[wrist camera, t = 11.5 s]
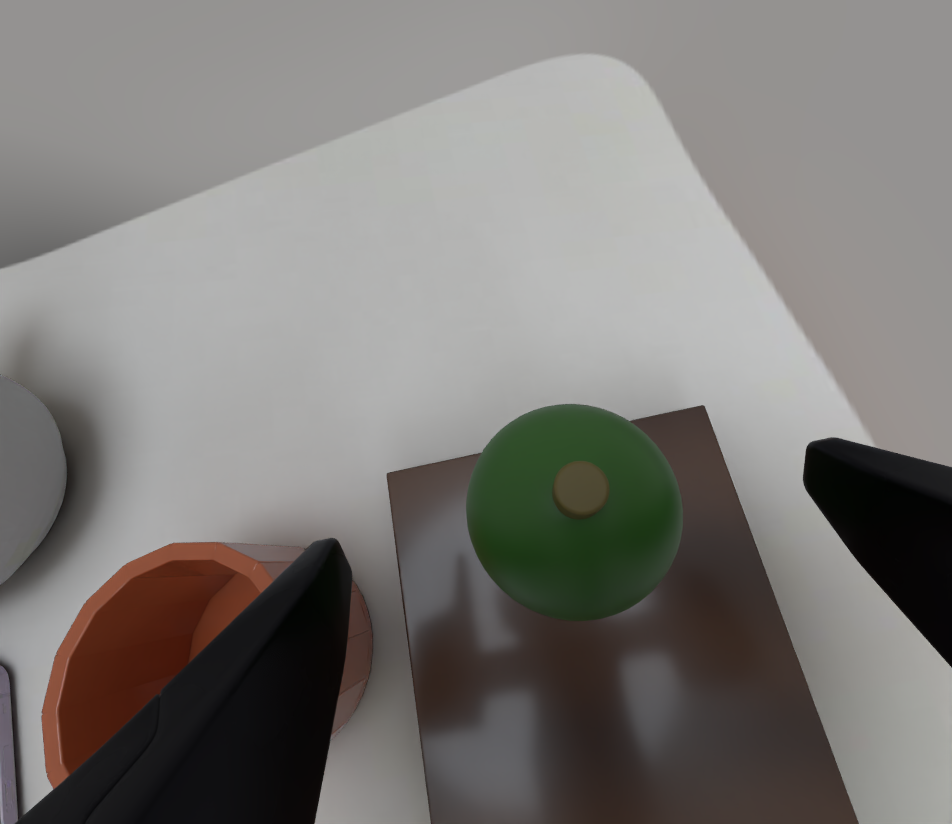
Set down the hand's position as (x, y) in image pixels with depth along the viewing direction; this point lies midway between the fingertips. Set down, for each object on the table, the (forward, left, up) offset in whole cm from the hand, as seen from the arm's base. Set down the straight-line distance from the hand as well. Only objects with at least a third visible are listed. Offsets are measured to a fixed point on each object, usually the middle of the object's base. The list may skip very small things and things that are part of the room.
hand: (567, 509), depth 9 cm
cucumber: (0, 0, -8) cm, 8 cm away
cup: (-4, +10, -9) cm, 15 cm away
